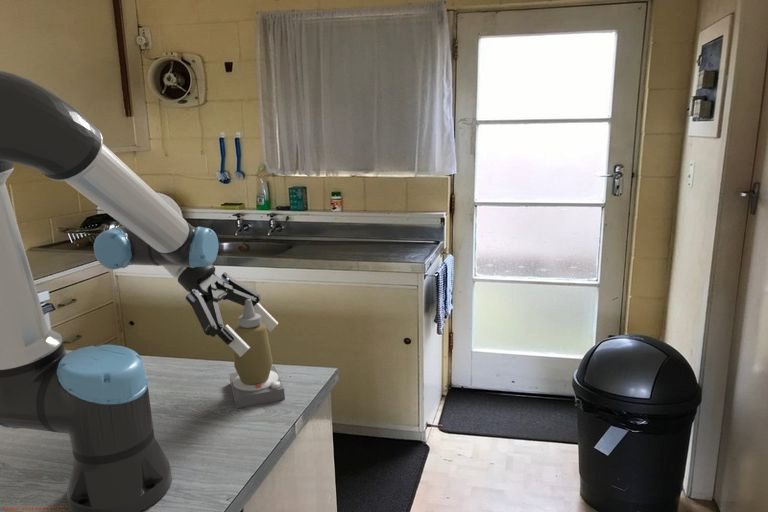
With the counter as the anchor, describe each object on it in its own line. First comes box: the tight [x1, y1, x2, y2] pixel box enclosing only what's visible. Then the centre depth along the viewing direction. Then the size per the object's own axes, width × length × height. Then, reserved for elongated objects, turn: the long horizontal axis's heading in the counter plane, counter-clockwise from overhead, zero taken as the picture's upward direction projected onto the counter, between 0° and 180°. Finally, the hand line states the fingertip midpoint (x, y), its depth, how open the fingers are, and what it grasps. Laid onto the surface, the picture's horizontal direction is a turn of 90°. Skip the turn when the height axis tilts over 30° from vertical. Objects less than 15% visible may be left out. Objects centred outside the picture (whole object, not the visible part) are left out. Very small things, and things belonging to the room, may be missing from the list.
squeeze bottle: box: [233, 299, 274, 385], centre depth 120 cm, size 8×8×18 cm
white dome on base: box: [229, 365, 286, 409], centre depth 123 cm, size 12×10×3 cm
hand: (260, 339), depth 120 cm, fingers open, 13 cm apart
